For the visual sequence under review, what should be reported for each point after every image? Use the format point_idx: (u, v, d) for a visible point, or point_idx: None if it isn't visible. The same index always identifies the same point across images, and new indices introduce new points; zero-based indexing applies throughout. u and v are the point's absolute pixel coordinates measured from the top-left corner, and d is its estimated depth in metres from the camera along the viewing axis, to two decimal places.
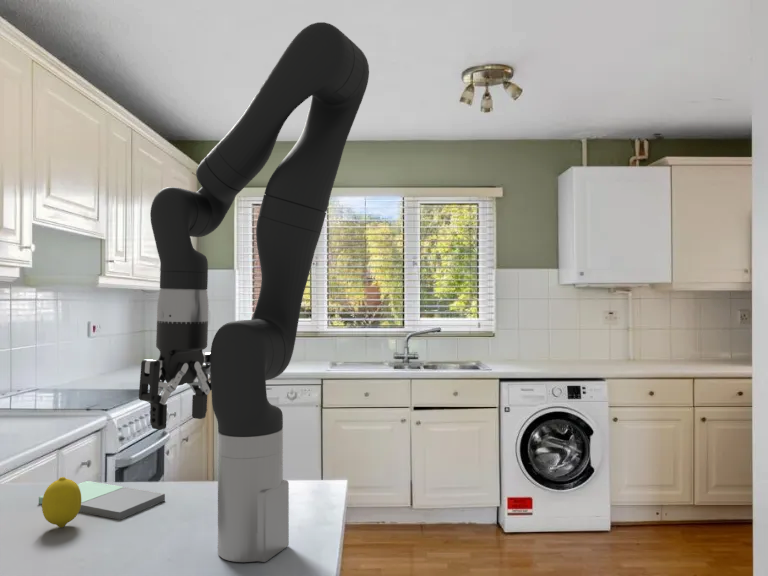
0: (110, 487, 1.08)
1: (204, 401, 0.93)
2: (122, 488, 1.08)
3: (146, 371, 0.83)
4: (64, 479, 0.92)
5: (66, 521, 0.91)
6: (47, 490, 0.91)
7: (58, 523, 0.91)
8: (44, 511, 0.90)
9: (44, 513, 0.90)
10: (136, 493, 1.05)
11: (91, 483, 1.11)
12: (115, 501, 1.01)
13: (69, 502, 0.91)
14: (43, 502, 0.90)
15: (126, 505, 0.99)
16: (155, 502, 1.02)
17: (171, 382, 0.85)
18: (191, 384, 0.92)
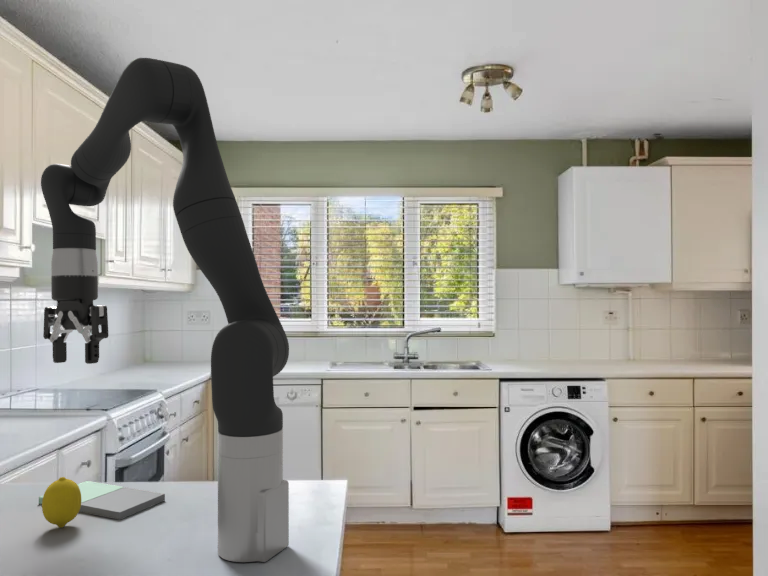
0: (110, 487, 1.08)
1: None
2: (122, 488, 1.08)
3: (100, 314, 1.03)
4: (64, 479, 0.92)
5: (66, 521, 0.91)
6: (47, 490, 0.91)
7: (58, 523, 0.91)
8: (44, 511, 0.90)
9: (44, 513, 0.90)
10: (136, 493, 1.05)
11: (91, 483, 1.11)
12: (115, 501, 1.01)
13: (69, 502, 0.91)
14: (43, 502, 0.90)
15: (126, 505, 0.99)
16: (155, 502, 1.02)
17: None
18: None
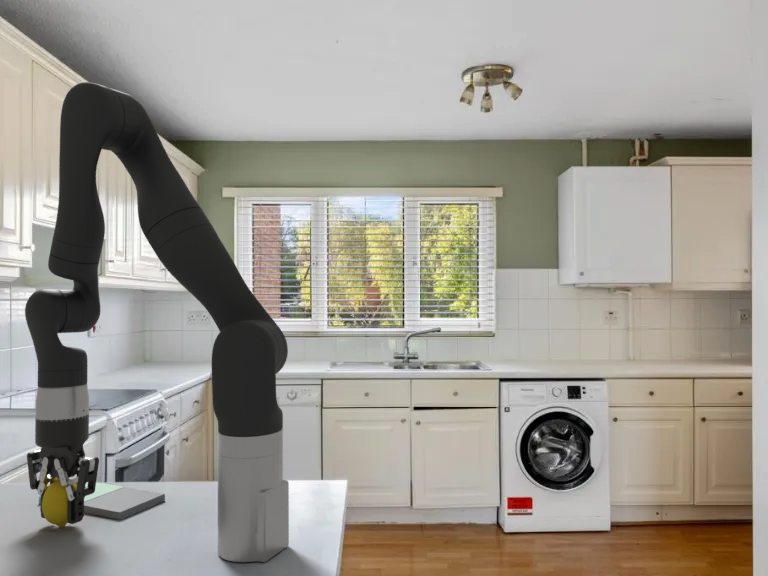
0: (110, 487, 1.08)
1: None
2: (122, 488, 1.08)
3: (90, 470, 0.90)
4: None
5: (66, 521, 0.91)
6: (47, 490, 0.91)
7: (58, 523, 0.91)
8: (44, 511, 0.90)
9: (44, 513, 0.90)
10: (136, 493, 1.05)
11: None
12: (115, 501, 1.01)
13: None
14: (43, 502, 0.90)
15: (126, 505, 0.99)
16: (155, 502, 1.02)
17: None
18: (48, 482, 0.93)
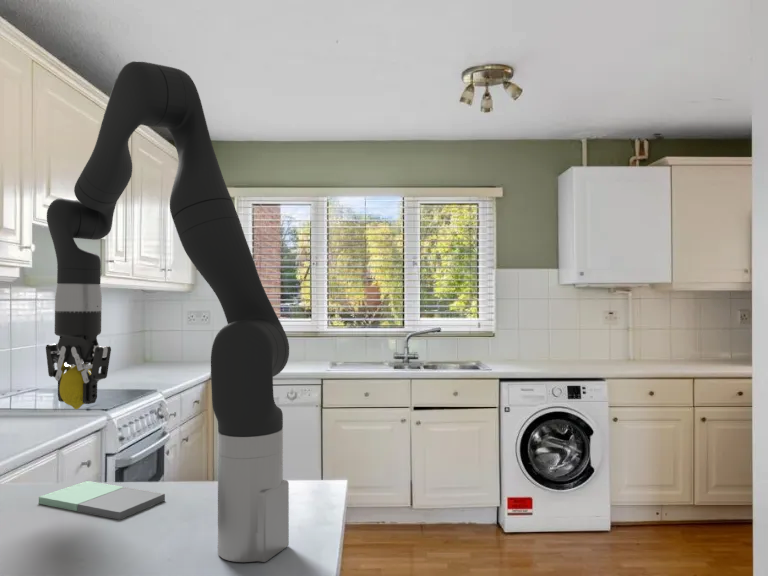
0: (110, 487, 1.08)
1: None
2: (122, 488, 1.08)
3: (103, 356, 1.02)
4: None
5: (81, 402, 1.03)
6: (64, 375, 1.03)
7: (74, 403, 1.03)
8: (62, 392, 1.02)
9: (62, 394, 1.02)
10: (136, 493, 1.05)
11: (91, 483, 1.11)
12: (115, 501, 1.01)
13: None
14: (61, 385, 1.03)
15: (126, 505, 0.99)
16: (155, 502, 1.02)
17: None
18: (65, 369, 1.05)
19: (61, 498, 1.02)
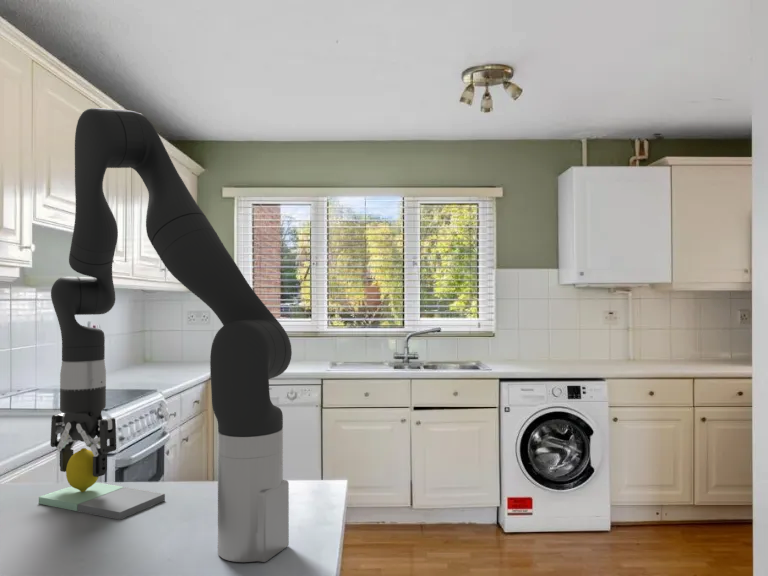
0: (110, 487, 1.08)
1: None
2: (122, 488, 1.08)
3: (109, 428, 1.03)
4: (85, 450, 1.06)
5: (87, 486, 1.05)
6: (71, 459, 1.04)
7: (80, 487, 1.04)
8: (68, 477, 1.04)
9: (68, 479, 1.04)
10: (136, 493, 1.05)
11: None
12: (115, 501, 1.01)
13: (90, 469, 1.04)
14: (67, 469, 1.04)
15: (126, 505, 0.99)
16: (155, 502, 1.02)
17: None
18: (67, 442, 1.07)
19: (61, 498, 1.02)
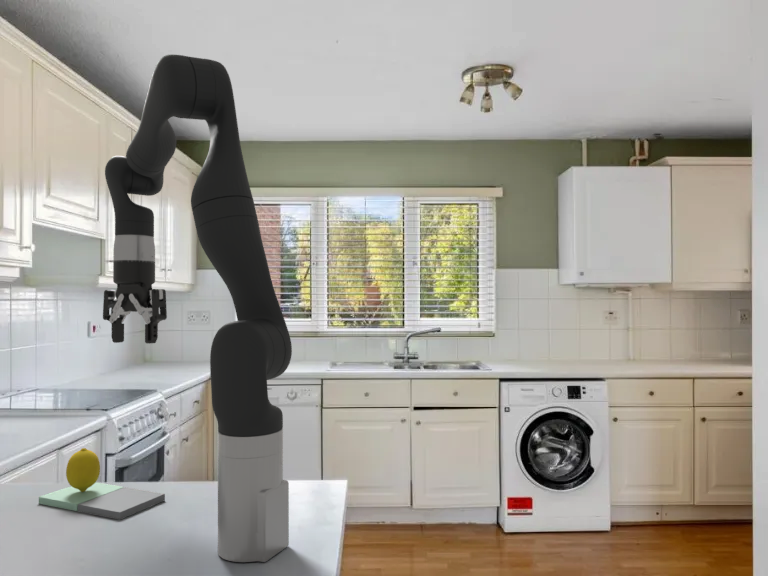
0: (110, 487, 1.08)
1: None
2: (122, 488, 1.08)
3: (160, 297, 1.10)
4: (85, 450, 1.06)
5: (87, 486, 1.05)
6: (71, 459, 1.04)
7: (80, 487, 1.04)
8: (68, 477, 1.04)
9: (68, 478, 1.04)
10: (136, 493, 1.05)
11: None
12: (115, 501, 1.01)
13: (90, 469, 1.04)
14: (67, 469, 1.04)
15: (126, 505, 0.99)
16: (155, 502, 1.02)
17: None
18: (119, 314, 1.13)
19: (61, 498, 1.02)
